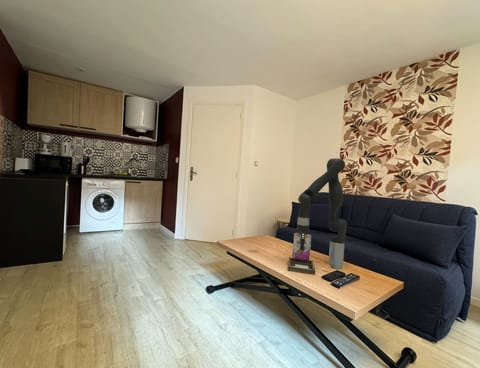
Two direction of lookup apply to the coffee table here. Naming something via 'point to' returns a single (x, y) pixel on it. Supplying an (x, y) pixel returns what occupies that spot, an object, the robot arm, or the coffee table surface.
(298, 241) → the candy bar box
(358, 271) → the coffee table surface
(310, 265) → the tray
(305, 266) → the sage offcut
